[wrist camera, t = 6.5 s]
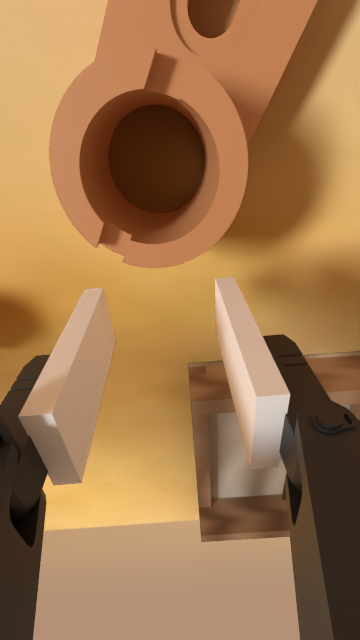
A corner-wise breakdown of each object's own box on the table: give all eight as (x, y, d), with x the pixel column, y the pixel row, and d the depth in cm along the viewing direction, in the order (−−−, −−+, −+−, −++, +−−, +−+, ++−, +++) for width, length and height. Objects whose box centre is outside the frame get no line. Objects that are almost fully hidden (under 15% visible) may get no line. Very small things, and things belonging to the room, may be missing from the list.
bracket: (190, 248, 22) (197, 290, 16) (75, 199, 20) (33, 227, 14) (362, -123, 13) (516, -334, 7) (188, -270, 11) (205, -716, 5)
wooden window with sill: (198, 501, 39) (201, 541, 35) (188, 363, 27) (190, 401, 23) (331, 493, 39) (348, 532, 35) (380, 349, 27) (416, 386, 23)
